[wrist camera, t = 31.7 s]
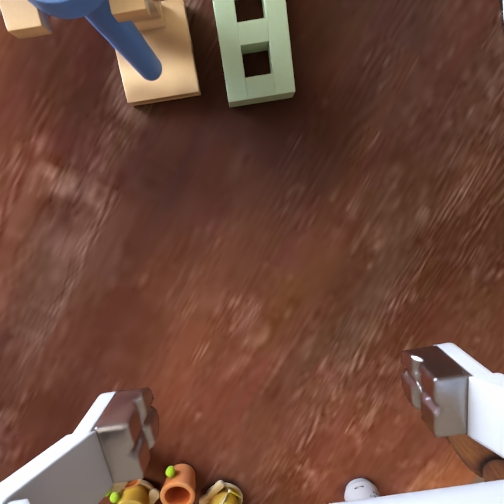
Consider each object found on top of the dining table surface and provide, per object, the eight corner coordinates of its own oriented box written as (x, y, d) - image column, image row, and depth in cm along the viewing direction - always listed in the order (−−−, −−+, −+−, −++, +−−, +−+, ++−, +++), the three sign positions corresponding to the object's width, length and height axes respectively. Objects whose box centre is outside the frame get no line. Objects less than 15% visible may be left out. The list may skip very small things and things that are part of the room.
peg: (131, 27, 31) (-7, -163, 14) (185, 50, 32) (114, -105, 15) (116, 85, 32) (-28, -27, 15) (168, 106, 33) (85, 22, 16)
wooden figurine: (480, 431, 50) (576, 533, 36) (450, 447, 51) (532, 553, 36) (464, 404, 49) (557, 498, 34) (433, 421, 50) (511, 519, 35)
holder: (278, -31, 35) (280, -47, 32) (292, 97, 38) (295, 91, 35) (209, -19, 35) (207, -34, 32) (229, 107, 38) (228, 102, 35)
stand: (202, 103, 38) (151, 7, 17) (134, 114, 38) (2, 32, 17) (185, 5, 35) (101, -244, 15) (112, 17, 35) (-73, -213, 15)
